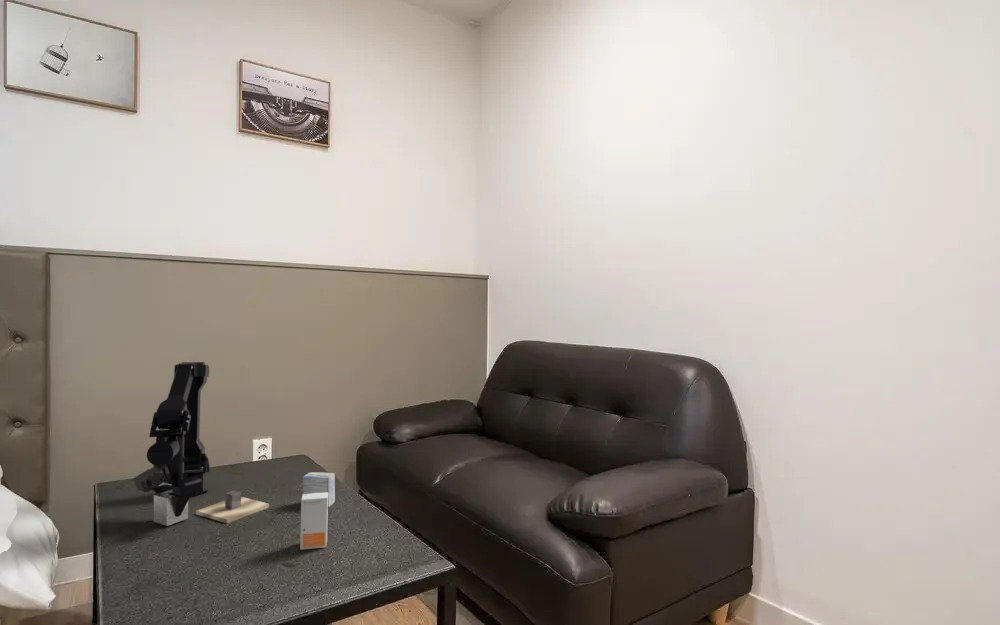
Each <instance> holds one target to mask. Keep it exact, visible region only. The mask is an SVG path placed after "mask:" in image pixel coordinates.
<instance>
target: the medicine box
mask: <svg viewBox="0 0 1000 625" xmlns="http://www.w3.org/2000/svg"><path fill="white" fill-rule="evenodd" d="M335 487H336V474H335V473H334V472H319V471H318V472H312V471H311V472H308V473H307V474H305V475H304V476H302V494H312V493H325V492H328V508H330V507H331V506H332V505H333V504H334V503H335V501H336V496H335V495H336V492H335V490H336V488H335Z"/></svg>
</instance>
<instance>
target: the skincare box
mask: <svg viewBox="0 0 1000 625" xmlns="http://www.w3.org/2000/svg"><path fill="white" fill-rule="evenodd" d="M300 503H301V504H300V539H299V547H300V548H299V549H300V550H301V551H302V550H311V549H322V548H323V549H325V548H326V549H327V543H328V525H329V524H328V521H329V520H328V516H329V515H328V511H329V510H328V509H329V507H328V492H325V493H312V494H303V493H302V495H301V500H300Z"/></svg>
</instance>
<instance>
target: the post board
mask: <svg viewBox="0 0 1000 625" xmlns="http://www.w3.org/2000/svg"><path fill="white" fill-rule="evenodd" d="M224 494H225V496H224V497H225V499H224V500H223V501H220V502H217V503H214V504H211V505H208V506H205V507H203V508H199V509H197V510H195V515H197V516H200V517H204V518H208V519H211V520H214V521H218V522H221V523H225V524H230V523H233V522H235V521H238V520H240V519H242V518H246V517H248V516H251V515H253V514H256V513H258V512H261V511H264V510H266V509H269V508H270V504H269V503H266V502H264V501H260V500H256V499H252V498H248V497H245V496H242V492H241V491H237V490H231V491H228V492H226V493H224Z"/></svg>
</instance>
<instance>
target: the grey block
mask: <svg viewBox="0 0 1000 625" xmlns="http://www.w3.org/2000/svg"><path fill="white" fill-rule="evenodd" d="M171 492H173V491H172V490H169V491H165V492H162V493H158V494H155V493H154V494H153V522H154V523H155V524H156V523H157V524H160V525H163V526H166V527H167V526H170V525H174V524H176V523H179V522H182V521H185V520H187V519H189V501H188V502H187V504H186V506H185V508H184V510H183V512H182V514H181V515H180V516H178V517H176V516H175V510H174V500H173V497H171V496H170V495H168V493H171Z"/></svg>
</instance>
